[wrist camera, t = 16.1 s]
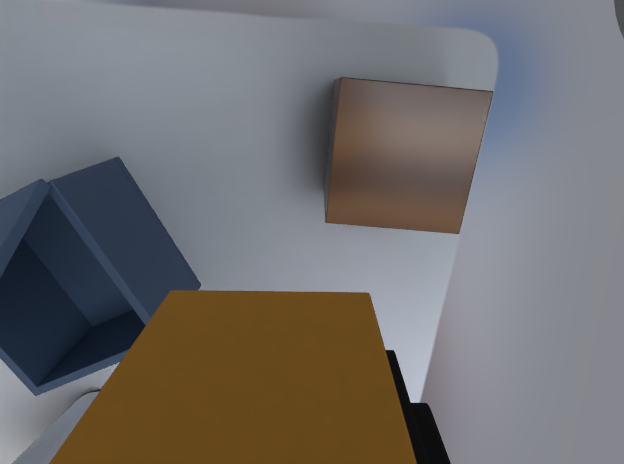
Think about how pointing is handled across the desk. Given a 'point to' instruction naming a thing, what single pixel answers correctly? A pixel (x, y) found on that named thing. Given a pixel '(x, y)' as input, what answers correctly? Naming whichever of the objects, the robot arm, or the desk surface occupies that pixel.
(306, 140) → the desk surface
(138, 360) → the mustard yellow cube
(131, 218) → the blue hinged box
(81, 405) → the cup
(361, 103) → the brown cube
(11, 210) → the lid
